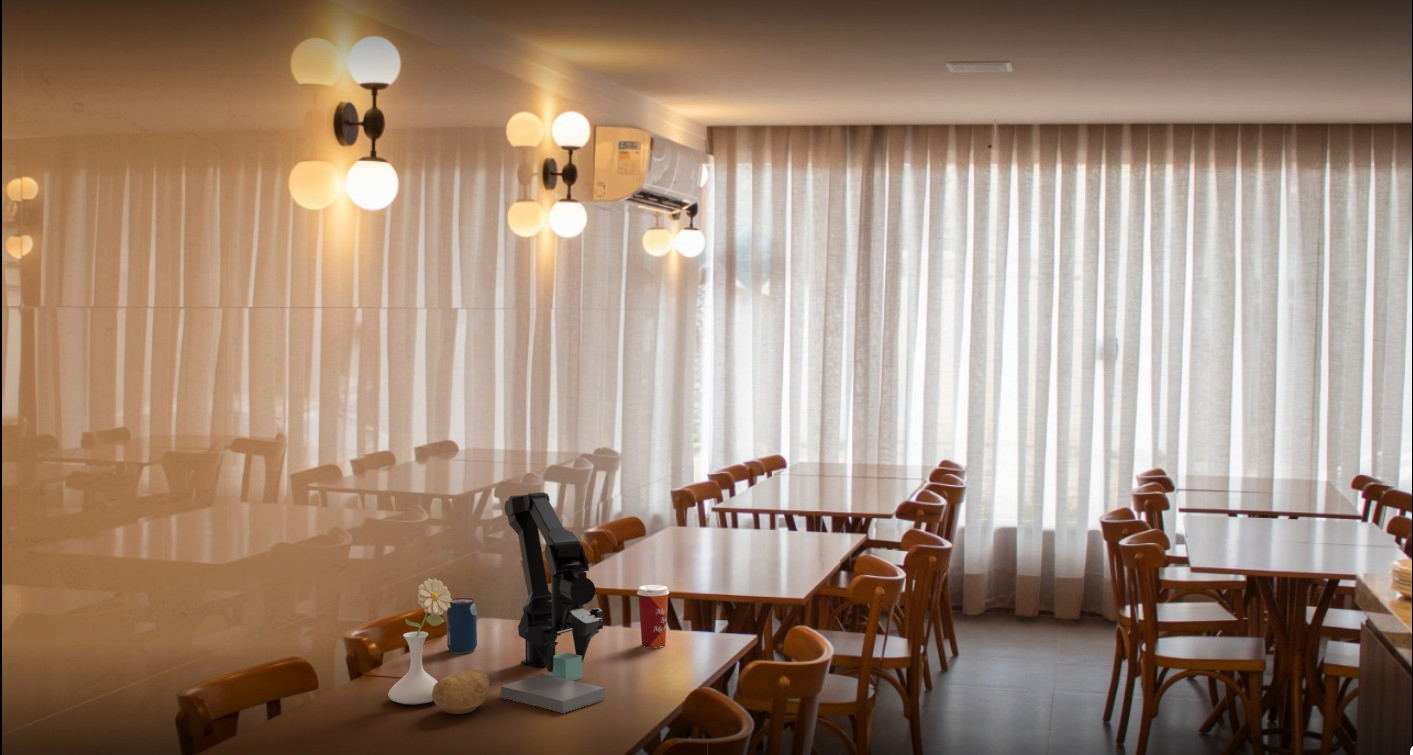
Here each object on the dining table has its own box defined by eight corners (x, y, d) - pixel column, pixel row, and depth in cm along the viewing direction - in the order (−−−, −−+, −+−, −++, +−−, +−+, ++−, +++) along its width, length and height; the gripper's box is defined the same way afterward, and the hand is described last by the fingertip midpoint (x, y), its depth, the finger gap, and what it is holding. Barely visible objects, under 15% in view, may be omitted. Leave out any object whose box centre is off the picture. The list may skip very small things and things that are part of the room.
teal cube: (549, 679, 286) (549, 656, 286) (565, 674, 290) (565, 652, 290) (565, 683, 283) (565, 660, 283) (582, 678, 287) (581, 655, 287)
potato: (504, 705, 267) (503, 666, 266) (461, 724, 254) (460, 683, 254) (464, 699, 271) (464, 661, 271) (421, 718, 259) (420, 677, 258)
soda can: (483, 649, 313) (482, 599, 313) (463, 655, 307) (462, 604, 307) (461, 645, 317) (460, 596, 316) (441, 651, 311) (440, 601, 311)
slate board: (500, 698, 272) (500, 686, 272) (542, 685, 281) (542, 673, 281) (563, 713, 261) (563, 701, 261) (604, 699, 270) (604, 687, 270)
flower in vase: (396, 712, 263) (394, 587, 262) (382, 697, 273) (380, 577, 272) (459, 703, 269) (458, 581, 268) (444, 689, 279) (442, 572, 278)
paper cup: (665, 650, 311) (665, 591, 311) (634, 648, 313) (633, 590, 312) (673, 642, 319) (672, 584, 318) (642, 640, 321) (641, 583, 320)
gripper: (560, 608, 274) (561, 682, 275) (621, 593, 288) (621, 664, 289) (523, 601, 281) (524, 674, 281) (584, 587, 295) (584, 656, 296)
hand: (565, 667), depth 287 cm, fingers open, 9 cm apart
